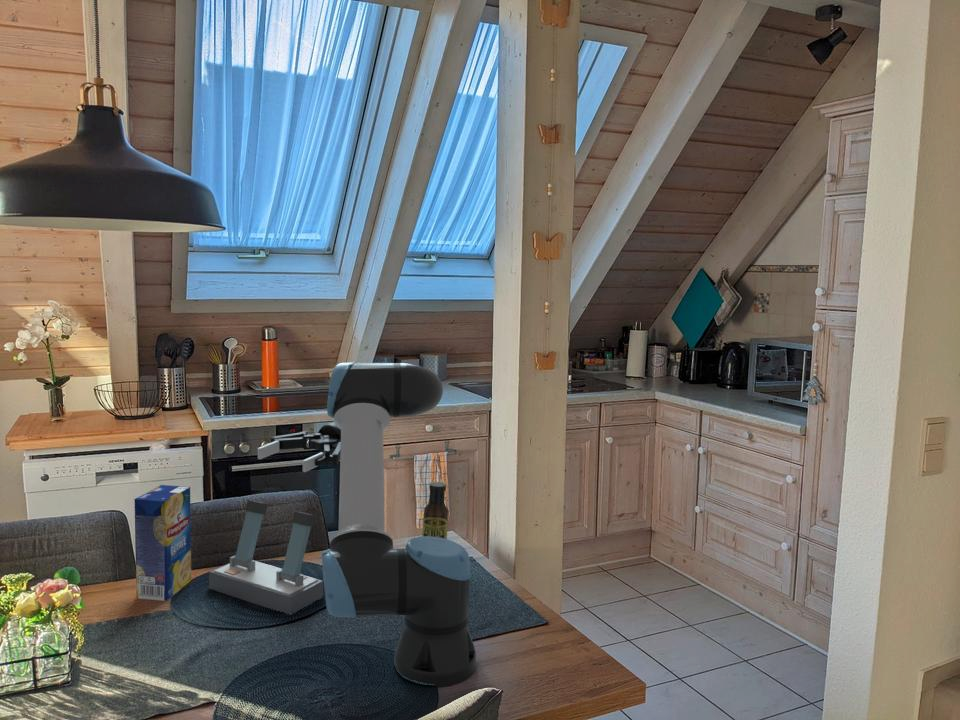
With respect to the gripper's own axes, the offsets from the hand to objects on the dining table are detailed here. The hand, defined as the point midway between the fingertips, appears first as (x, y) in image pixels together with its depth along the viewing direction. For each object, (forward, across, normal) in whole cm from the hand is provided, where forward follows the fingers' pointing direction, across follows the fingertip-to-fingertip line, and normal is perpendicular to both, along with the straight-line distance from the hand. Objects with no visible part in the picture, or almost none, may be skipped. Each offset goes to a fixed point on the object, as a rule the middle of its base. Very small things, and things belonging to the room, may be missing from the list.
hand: (280, 460), depth 177 cm
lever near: (+12, -14, -20) cm, 27 cm away
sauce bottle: (-23, -29, -28) cm, 46 cm away
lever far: (+12, 0, -21) cm, 24 cm away
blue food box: (+23, +13, -26) cm, 37 cm away
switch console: (+13, -7, -26) cm, 30 cm away
